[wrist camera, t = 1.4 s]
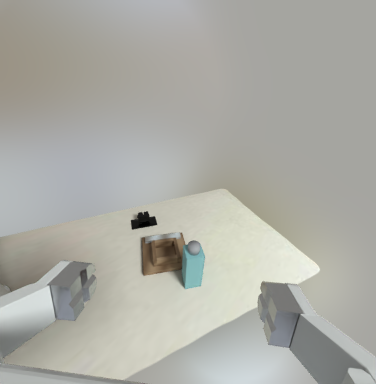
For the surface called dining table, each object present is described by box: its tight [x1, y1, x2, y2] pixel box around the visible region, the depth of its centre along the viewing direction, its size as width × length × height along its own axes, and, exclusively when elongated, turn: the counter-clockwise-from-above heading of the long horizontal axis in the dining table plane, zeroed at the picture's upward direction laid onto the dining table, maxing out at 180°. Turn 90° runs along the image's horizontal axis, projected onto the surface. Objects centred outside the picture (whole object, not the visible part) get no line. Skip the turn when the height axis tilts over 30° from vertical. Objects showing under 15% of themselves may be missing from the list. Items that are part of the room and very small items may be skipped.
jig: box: [142, 232, 185, 276], centre depth 60 cm, size 14×14×4 cm
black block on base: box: [131, 211, 157, 229], centre depth 73 cm, size 12×7×5 cm, turn 108°
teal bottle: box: [182, 241, 205, 289], centre depth 50 cm, size 4×4×14 cm
